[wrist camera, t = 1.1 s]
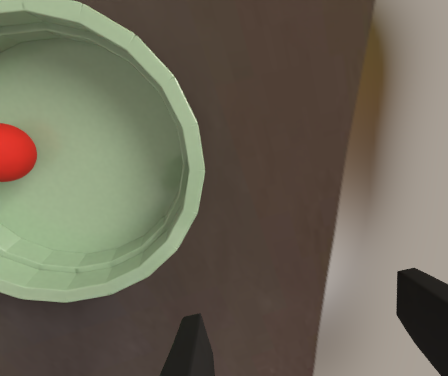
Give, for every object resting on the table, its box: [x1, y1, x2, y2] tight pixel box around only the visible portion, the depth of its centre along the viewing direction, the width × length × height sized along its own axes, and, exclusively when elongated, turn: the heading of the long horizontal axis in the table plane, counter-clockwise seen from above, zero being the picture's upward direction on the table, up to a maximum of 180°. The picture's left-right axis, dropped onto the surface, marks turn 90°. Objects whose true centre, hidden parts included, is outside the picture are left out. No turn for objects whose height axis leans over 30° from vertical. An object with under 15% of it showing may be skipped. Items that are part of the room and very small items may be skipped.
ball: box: [0, 123, 37, 182], centre depth 15 cm, size 3×3×3 cm
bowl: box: [0, 0, 205, 303], centre depth 15 cm, size 15×15×4 cm
